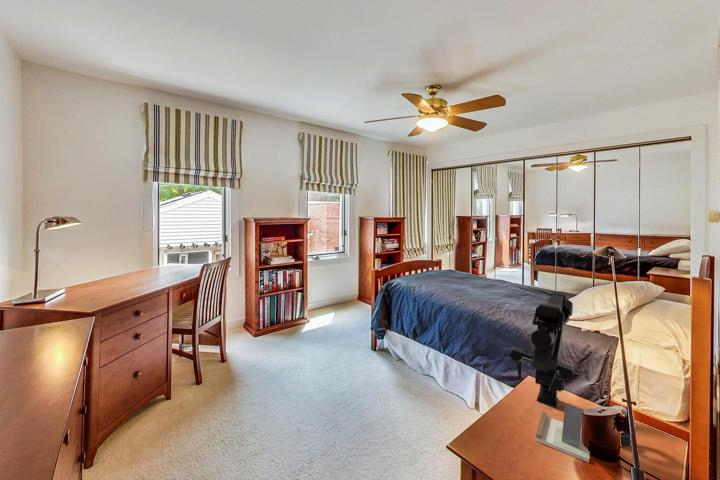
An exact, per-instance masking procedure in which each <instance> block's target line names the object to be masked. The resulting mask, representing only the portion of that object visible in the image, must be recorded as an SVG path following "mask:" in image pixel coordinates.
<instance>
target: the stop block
mask: <svg viewBox="0 0 720 480" xmlns="http://www.w3.org/2000/svg"><path fill="white" fill-rule="evenodd" d="M562 422H563V431H562V442H564V443H567V444H570V445H572V446H575V447H578V448H579V445H580V436H581V429H582V425H583V408H579V407H576V406H572V405H570V404H568V403H564V412H563V421H562Z"/></svg>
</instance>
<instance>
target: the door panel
mask: <svg viewBox="0 0 720 480" xmlns="http://www.w3.org/2000/svg"><path fill="white" fill-rule="evenodd" d="M539 419H540V420H539V423H538V425H537V426H538V427H537V430H536V434H535V441H536V442H538V443H540V444H543V445H545V446H547V447H550V448H552V449H554V450H557V451H560V452H562V453H564V454H567V455H570V456H572V457H574V458H577V459H579V460H582V461H584V462H586V463H590V453H591V451H588V449H587V448H586V447H585V446H584V445H583V443H582V439H581V436H580V445H579V448H578V447H575V446H572V445H570V444H567V443H564V442H562V431H563V421H561V420H559V419H556V418H552V417H550V416H548V412H545V411H541V415H540V418H539Z"/></svg>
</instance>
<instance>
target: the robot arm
mask: <svg viewBox="0 0 720 480" xmlns="http://www.w3.org/2000/svg"><path fill="white" fill-rule="evenodd" d="M573 312H574V305H573V302H572V301H571V300H570V299H568V296H567V295H565V294H562V293H556V292H552V293H551V294H550V296H549V297H548V298H547V302H541V303H540V304H539V305H538V306H536V308H535V311H534V316H533V319H532V320H533V321H532V325H534V326H537V328H536V330H534V331H533V333H532V334H531V336H530V340H531V343H532V344H533V347H532V352H531V354H527V353H525V352H524V349H523V348H519V347H517V346H511V348H510V350H509V355H508V357H509V358H510V359H512V361H513V362H515V364H516V367H517V368H516V369H517V374H518V375H517V376H518V381H521V379H522V373H523V372H522V370H523V363H524V362H523V361H524V360H526V361H528V362H529V361H530V362H531V367H532V368H533V369H536V370H535V374H534V375H535V377H534V378H535V382H534V383H535V384H536V385H539V392H538V395H537V397H536V401H537V402H540V403H542V404H546V405H549V406H552V407H554V408H557V407H558V403H559V397H558V392H562V391H564V390H565V381H567V380H570V381H572V380H573V378H574V374H575V373H574V368H573V367H572V366H571V365H569V364H566V363H563V362H560V361H559V356H560V351H561V344H562V337H563V332H564V331H563V330H564V326H565V325H566V324H567V323H568V322H569V321H570V320H571V319H570V318H571V316H573ZM558 362H559V363H558Z"/></svg>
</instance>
